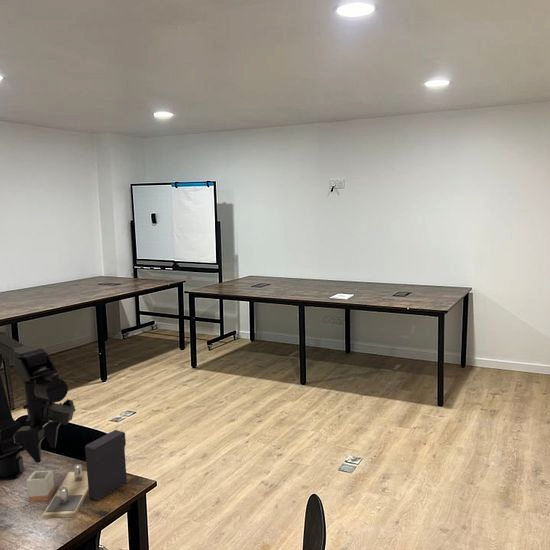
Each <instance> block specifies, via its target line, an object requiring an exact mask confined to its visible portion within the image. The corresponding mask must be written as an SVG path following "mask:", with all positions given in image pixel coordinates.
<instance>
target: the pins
mask: <svg viewBox="0 0 550 550" xmlns="http://www.w3.org/2000/svg"><path fill="white" fill-rule="evenodd" d="M82 468H83V467H82V464H81V463H80V464H79V463H78V464H75V465H74V466H73V472H74V476H75V481H81V480H82V471H83V470H82ZM59 488H60V487H59ZM59 488H58V489H59ZM59 493H60V504H61V505H66V504H68V503H69V499H68V488H67V487H63V488H60V489H59Z"/></svg>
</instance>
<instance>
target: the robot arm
mask: <svg viewBox="0 0 550 550" xmlns="http://www.w3.org/2000/svg"><path fill="white" fill-rule="evenodd" d="M4 357H5V358H6V359H8V360H9V361H11V362H12V363H13V368H14V370H16V372H17V373H18V374H19V375H20V377H19V378H18V379H19V381H20V382H22V384H23V385H22V387H23V392H24V398H25V403H24V404H22V408H23V410H27V411H26V412H27V419H26V420H25V426H23V424H22V423H21V422H18V421H16V420H15V419H14V418H13V415H12V411H11V408H10V403H9V399H8V396H7V392H6V389H5V384H4V380H3V377H2V373H1V372H0V481H2V480H15V479H17V478H18V477H19V475H20V474H21V473H22V472H23V470H24V469H25V466H24V461H23V459H24V458H23V456H21V452H24V451H26V452H27V453H28V455H29V456H30V457H31V458H32V460H33V461H34V462H35V463H37V464H38V463H41V461H42V441H43V440H44V439H46V441H47V443H48V445H49V446H50V449H55V448H56V447H57V440H58V433H59V427H60V425H67V424H69V422H71V421H72V420H73V418H74V417H73V415H74V413H75V411H76V406H75V404H74V401H73V400H72V399H66V400H65V398H66V396H67V394H68V391H69V390H68V389H69V386H68V384H67V383H66V382H65V380H63V379H61V378H60V377H59V374H58V371H57V369H56V367H57V366H56V364H55V363H54V362H53V360H52V358H51V357H50V355H49V354H48V352H47V351H46V350H45V349H44V348H42V347H38V346H29V345H28V346H26V345H24V343H23V344H22V343H21V342H19V341H17V340H16V339H14V338H12V337H11V336H9V335H8V334H7V333H6V332H5V331H1V330H0V369H1V367H2V364H3V362H4ZM62 400H63V401H64V400H65V401H64V402H63V403H62V402H61V401H62ZM59 402H60V403H59Z"/></svg>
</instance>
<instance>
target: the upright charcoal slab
mask: <svg viewBox="0 0 550 550" xmlns="http://www.w3.org/2000/svg"><path fill="white" fill-rule="evenodd" d="M126 442H127V441H126V432H125V431H121V430H117V429H114V430H112V431H110V432H109V433H107V434H105V435H103V436H101V437H99V438H97V439H95V440H93V441H92V442H89V443H87V444H86V445H85V446H84V451H85V452H84V453H85V462H86V471H87V477H88V490H89V492H88V498H89V499H91V500H93V501H100V500H101V499H103V498H105V497H106V496H107V495H109V494H110V493H112V492H113V491H115V490H116V489H118V488H119V487H122V486H123V485H125V484H126V483H127V480H128V479H127V467H126V466H127V465H126V450H125V449H126V448H125V447H126V444H127V443H126Z"/></svg>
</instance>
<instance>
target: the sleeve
mask: <svg viewBox="0 0 550 550" xmlns="http://www.w3.org/2000/svg"><path fill="white" fill-rule="evenodd" d="M53 470H54V469H50V470H49V469H48V470H34V471H33V472H32V473H31V474H30V475H29V476H28V478H27V480H26V488H27V490H26V491H27V497H28V503H33V502H38V503H39V502H49V500H50V499H51V497H52V496H53V494H54V492H55V490H56V489H55V480H54V471H53Z"/></svg>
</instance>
